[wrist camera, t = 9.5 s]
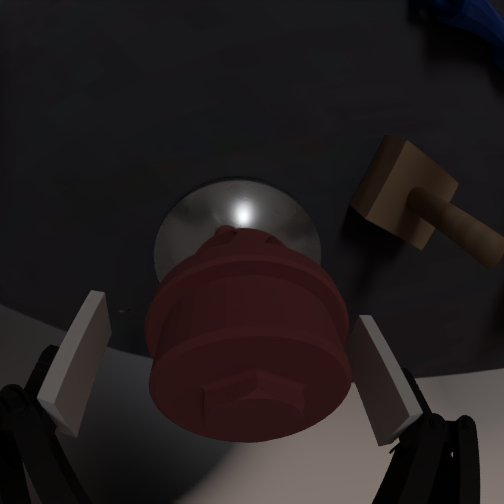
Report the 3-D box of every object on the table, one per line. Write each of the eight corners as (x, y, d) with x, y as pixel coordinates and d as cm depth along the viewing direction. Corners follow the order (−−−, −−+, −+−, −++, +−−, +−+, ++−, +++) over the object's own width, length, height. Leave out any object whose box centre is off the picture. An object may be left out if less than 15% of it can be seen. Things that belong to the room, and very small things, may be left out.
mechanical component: (339, 245, 20) (260, 336, 24) (218, 166, 17) (150, 283, 21) (424, 377, 9) (277, 474, 13) (193, 268, 6) (99, 428, 10)
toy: (404, 22, 15) (516, 89, 16) (448, 4, 9) (559, 96, 10) (403, -36, 12) (515, 36, 13) (440, -60, 6) (555, 36, 7)
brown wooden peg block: (349, 204, 21) (432, 285, 11) (385, 134, 18) (496, 169, 9) (403, 234, 22) (484, 313, 12) (436, 173, 20) (536, 226, 10)
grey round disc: (132, 267, 22) (126, 277, 21) (222, 140, 18) (221, 143, 17) (249, 337, 26) (250, 349, 25) (346, 242, 22) (352, 251, 21)
